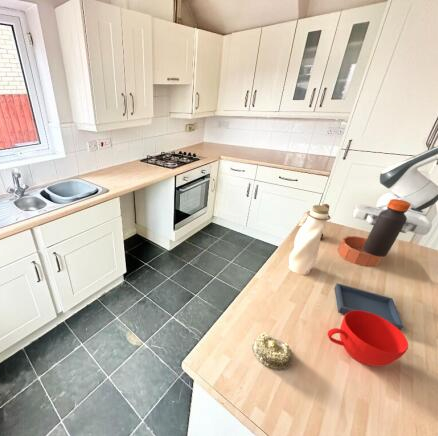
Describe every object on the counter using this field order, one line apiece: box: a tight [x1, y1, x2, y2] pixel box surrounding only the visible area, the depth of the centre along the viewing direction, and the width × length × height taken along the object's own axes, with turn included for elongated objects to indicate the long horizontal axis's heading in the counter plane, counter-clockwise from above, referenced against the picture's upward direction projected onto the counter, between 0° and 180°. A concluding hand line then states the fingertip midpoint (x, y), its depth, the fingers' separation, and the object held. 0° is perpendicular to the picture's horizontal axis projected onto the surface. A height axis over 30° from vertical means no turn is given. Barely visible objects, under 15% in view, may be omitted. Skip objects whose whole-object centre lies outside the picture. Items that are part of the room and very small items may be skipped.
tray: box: [334, 282, 405, 332], centre depth 81 cm, size 16×13×3 cm
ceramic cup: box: [327, 310, 409, 367], centre depth 66 cm, size 13×17×10 cm
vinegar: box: [363, 199, 411, 258], centre depth 84 cm, size 7×7×20 cm
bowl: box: [337, 235, 383, 267], centre depth 105 cm, size 14×14×6 cm
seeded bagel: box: [252, 332, 292, 371], centre depth 68 cm, size 10×10×5 cm
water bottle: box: [288, 204, 331, 276], centre depth 94 cm, size 10×9×28 cm
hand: (388, 226), depth 83 cm, fingers closed on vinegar, 6 cm apart
